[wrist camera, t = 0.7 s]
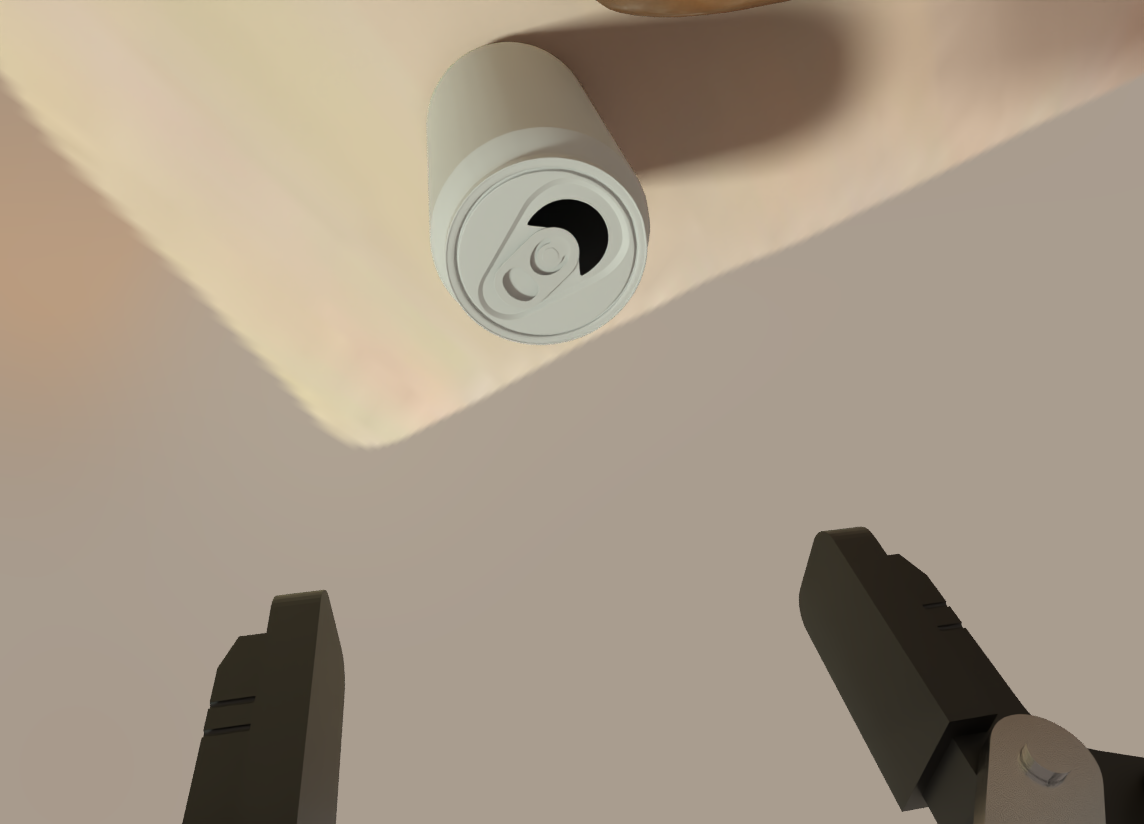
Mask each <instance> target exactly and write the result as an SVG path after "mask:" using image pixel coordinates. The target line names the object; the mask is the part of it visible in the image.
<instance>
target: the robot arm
mask: <svg viewBox="0 0 1144 824" xmlns="http://www.w3.org/2000/svg"><path fill="white" fill-rule="evenodd" d="M799 607H800V612H801V617H802V620H803V623H804V626H805V628H806V630H807V632H808V634H809V636H810V638H811V640H812V642H813V644H814V645H815V647H816V649H817V651H818V653H819V655H820V657H821V659H822V661H823V662H824V664H825V666H826V668H827V670H828V672H829V674H830V676H831V678H832V680H833V681H834V683H835V685H836V687H837V689H838V691H839V693H840V695H841V697H842V699H843V700H844V702H845V704H846V706H847V708H848V710H849V712H850V714H851V716H852V717H853V719H854V721H855V723H856V725H857V727H858V729H859V731H860V733H861V734H862V736H863V738H864V740H865V742H866V744H867V746H868V748H869V750H870V752H871V754H872V755H873V757H874V759H875V761H876V763H877V765H878V767H879V769H880V771H881V773H882V774H883V776H884V778H885V780H886V782H887V784H888V786H889V788H890V790H891V791H892V793H893V795H894V797H895V799H896V801H897V803H898V805H899V806H900V809H901V810H902V812H903V811H908V810H913V809H919V808H924V807H929V809H930V810H931V812H932V814H933V816H934V818H935V819H936V821H937V824H1144V758H1142V757H1136V756H1129V755H1123V754H1117V753H1110V752H1104V751H1097V750H1093V749H1088V748H1086V747H1085V746H1084V745H1083V744H1082V742H1081V741H1080V740H1078V739H1077V738H1076V737H1075V736H1074V735H1073V734H1071V733H1070V732H1068V731H1067V730H1065V729H1064V728H1062V727H1061V726H1059V725H1057V724H1055V723H1053V722H1051V721H1048V720H1047V719H1044V718H1040V717H1037V716H1032V715H1031V714H1030V713H1028V711H1027V710H1026V709H1025V708H1024V706H1023V705H1022V704H1021V703H1020V701H1019V700H1018V698H1017V697H1016V696H1015V694H1014V693H1013V692H1012V690H1011V689H1010V688H1009V686H1008V685H1007V683H1006V682H1005V681H1004V679H1003V678H1002V677H1001V675H1000V674H999V673H998V671H997V670H996V668H995V667H994V666H993V664H992V663H991V662H990V660H989V659H988V658H987V656H986V655H985V654H984V652H983V651H982V649H981V648H980V647H979V646H978V644H977V643H976V641H975V640H974V639H973V637H972V636H971V635H970V633H969V632H968V630H967V629H966V628H963V627H962V625H961V623H962V622H961V621H960V620H959V618H958V617H957V615H956V614H955V613H954V611H953V610H952V609H951V607H950V606H949V607H947V605H946V601H945V599H944V598H943V596H942V595H941V594H940V592H939V591H938V590H937V588H936V587H935V586H934V584H933V583H932V582H931V580H930V579H929V577H928V576H927V575H926V574H925V573H923V572H922V571H921V570H919V569H918V568H917V567H915V566H914V565H913V564H911V563H910V562H909V561H908V560H906V559H905V558H904V557H902V556H901V555H900V554H895V555H887V554H886V553H885V551H884V550H883V548H882V547H881V545H880V544H879V542H878V541H877V540H876V538H875V537H874V535H873V534H872V533H871V532H870V531H869V530H868V529H867V528H865V527H854V528H846V529H838V530H829V531H821V532H819V533H818V534H817V535H816V537H815V539H814V542H813V546H812V549H811V553H810V556H809V560H808V563H807V567H806V570H805V574H804V577H803V581H802V585H801V588H800V593H799ZM344 691H345V674H344V661H343V654H342V649H341V645H340V641H339V637H338V633H337V629H336V624H335V620H334V616H333V612H332V609H331V604H330V600H329V597H328V593H327V591H326V590H319V591H311V592H303V593H294V594H286V595H279V596H275V597H274V599H273V601H272V605H271V610H270V616H269V622H268V628H267V633H264V634H255V635H247V636H240V637H238V639H237V640H236V642H235V643H234V645H233V646H232V648H231V649H230V651H229V652H228V654H227V655H226V657H225V658H224V660H223V661H222V662H221V664H220V665H219V667H218V669H217V673H216V677H215V682H214V686H213V690H212V695H211V699H210V709H208V712H207V717H206V722H205V726H204V737H203V738H202V739H201V743H200V748H199V752H198V757H197V761H196V765H195V770H194V774H193V779H192V783H191V788H190V792H189V796H188V801H187V805H186V810H185V814H184V819H183V823H182V824H336V811H337V796H338V782H339V767H340V752H341V737H342V722H343V707H344Z"/></svg>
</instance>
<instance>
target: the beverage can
mask: <svg viewBox="0 0 1144 824" xmlns="http://www.w3.org/2000/svg"><path fill="white" fill-rule="evenodd" d="M426 124H427V159H428V190H429V222H430V244H431V252H432V257H433V261H434V264H435V267H436V270H437V272H438V275H439V277H440V279H441V281H442V283H443V284H444V286H445V288H446V289H447V290H448V292H449V293H450V295H451V296H452V297H453V298H454V299H455V300H456V301H457V302H458V303H459V304H460V306H461V307H462V309H463V310H464V311H465V312H466V314H467V315H468V316H469V317H470V318H471V319H473V320H474V321H475V322H476V323H477V324H478V325H480V326H481V327H483V328H484V329H486V330H487V331H489V332H490V333H492V334H494V335H497V336H499V337H501V338H504V339H506V340H510V341H513V342H518V343H523V344H531V345H550V344H558V343H563V342H568V341H571V340H574V339H577V338H580V337H583V336H585V335H587V334H589V333H591V332H593V331H595V330H597V329H598V328H600V327H602V326H603V325H604V324H606V323H607V322H609V321H610V320H611V319H612V318H614V317H615V316H616V315H617V314H618V313H619V312H620V311H621V310H622V309H623V308H624V306H625V305H626V304H627V302H628V301H629V300H630V298H631V297H632V295H633V294H634V292H635V290H636V289H637V287H638V285H639V283H640V280H641V278H642V275H643V271H644V268H645V264H646V258H647V247H648V242H649V234H650V220H649V213H648V207H647V201H646V197H645V194H644V191H643V189H642V186H641V184H640V182H639V180H638V178H637V176H636V175H635V173H634V172H633V170H632V168H631V167H630V165H629V163H628V162H627V160H626V158H625V157H624V155H623V154H622V152H621V150H620V149H619V147H618V145H617V144H616V142H615V140H614V139H613V137H612V136H611V134H610V132H609V131H608V129H607V127H606V126H605V124H604V122H603V121H602V119H601V118H600V116H599V114H598V113H597V111H596V109H595V108H594V106H593V104H592V103H591V101H590V100H589V98H588V96H587V95H586V93H585V91H584V90H583V88H582V86H581V85H580V83H579V82H578V80H577V79H576V77H575V76H574V74H573V73H572V72H571V71H570V69H569V68H568V67H567V66H566V65H565V64H563V63H562V62H561V61H560V60H559V59H558V58H556V57H555V56H553V55H552V54H550V53H549V52H547V51H545V50H543V49H540V48H538V47H535V46H532V45H528V44H524V43H519V42H499V43H493V44H488V45H484V46H482V47H479V48H476V49H474V50H472V51H470V52H469V53H467V54H465V55H464V56H462V57H461V58H459V59H458V60H457V61H456V62H455V63H454V64H452V65H451V66H450V67H449V68H448V70H447V71H446V72H445V73H444V75H443V76H442V78H441V79H440V81H439V82H438V84H437V86H436V88H435V90H434V92H433V94H432V97H431V100H430V104H429V108H428V113H427V123H426Z"/></svg>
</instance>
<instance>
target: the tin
mask: <svg viewBox="0 0 1144 824" xmlns="http://www.w3.org/2000/svg"><path fill="white" fill-rule="evenodd" d="M596 1H598V2H599V3H601V4H602V5H604V6H605V7H607V8H609V9H610V10H613V11H616V12H620V13H625V14H631V15H638V16H651V17H686V16H698V15H708V14H718V13H726V12H732V11H738V10H744V9H749V8H754V7H759V6H764V5H769V4H774V3H779V2H784V1H789V0H596Z"/></svg>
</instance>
